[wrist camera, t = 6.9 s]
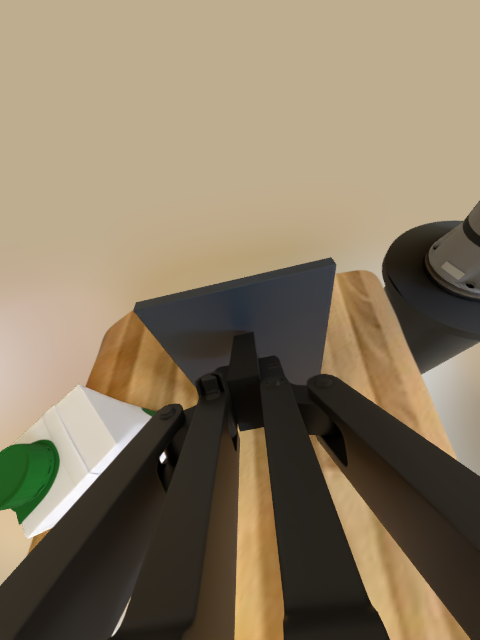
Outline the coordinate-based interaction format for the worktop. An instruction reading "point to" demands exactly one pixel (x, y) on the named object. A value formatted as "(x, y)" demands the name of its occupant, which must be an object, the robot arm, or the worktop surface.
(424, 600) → the worktop surface
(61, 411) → the milk carton
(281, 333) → the lid
